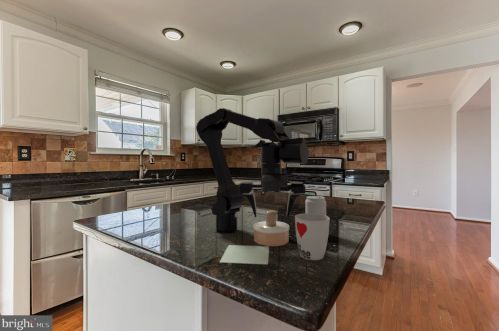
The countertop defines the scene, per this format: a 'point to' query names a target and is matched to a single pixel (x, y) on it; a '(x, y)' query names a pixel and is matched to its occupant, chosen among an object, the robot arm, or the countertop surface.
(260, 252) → the mat
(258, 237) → the bowl
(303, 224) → the cup
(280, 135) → the robot arm
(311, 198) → the beverage can
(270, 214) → the lid
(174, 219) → the countertop surface
